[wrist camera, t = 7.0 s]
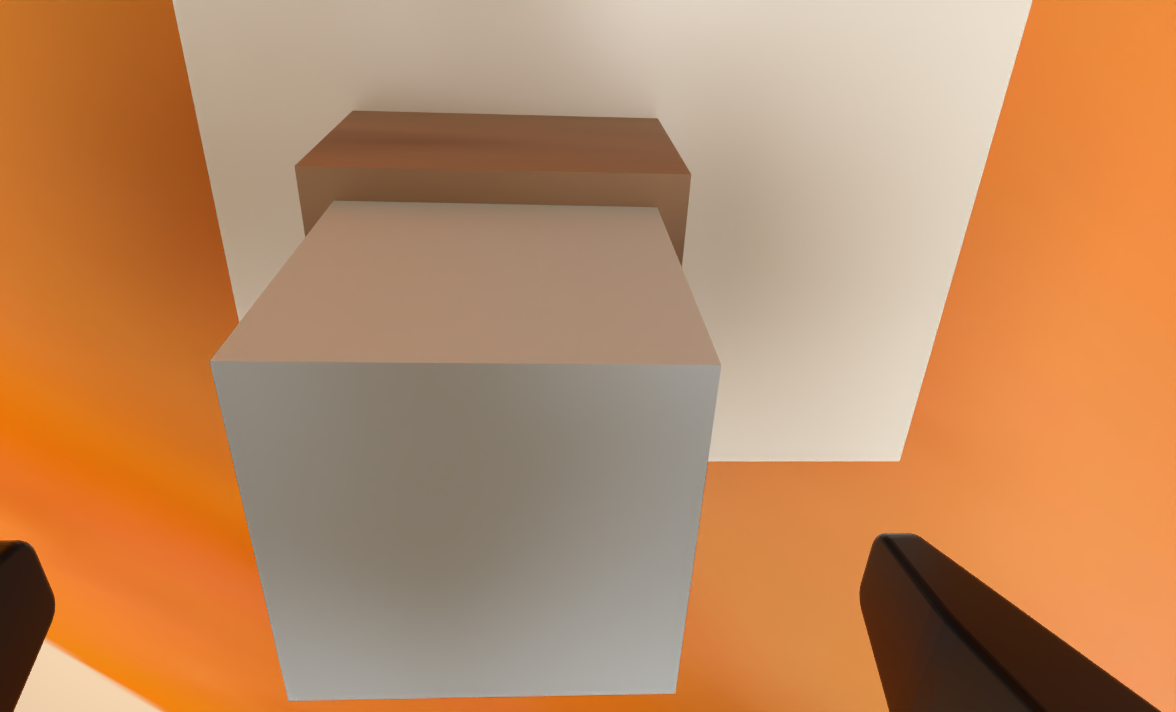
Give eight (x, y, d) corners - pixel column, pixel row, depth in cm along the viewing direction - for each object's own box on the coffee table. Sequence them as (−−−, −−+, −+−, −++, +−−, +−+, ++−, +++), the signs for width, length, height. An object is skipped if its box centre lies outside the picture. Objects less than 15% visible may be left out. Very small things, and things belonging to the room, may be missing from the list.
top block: (635, 462, 14) (675, 693, 10) (367, 462, 14) (289, 700, 10) (657, 207, 12) (721, 364, 8) (333, 200, 12) (209, 361, 7)
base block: (637, 376, 18) (659, 482, 15) (381, 375, 18) (342, 483, 14) (658, 118, 15) (691, 174, 12) (352, 110, 15) (294, 166, 11)
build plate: (884, 438, 21) (899, 460, 20) (280, 438, 20) (268, 462, 19) (1006, -11, 15) (1034, -7, 15) (187, -42, 14) (164, -39, 14)
